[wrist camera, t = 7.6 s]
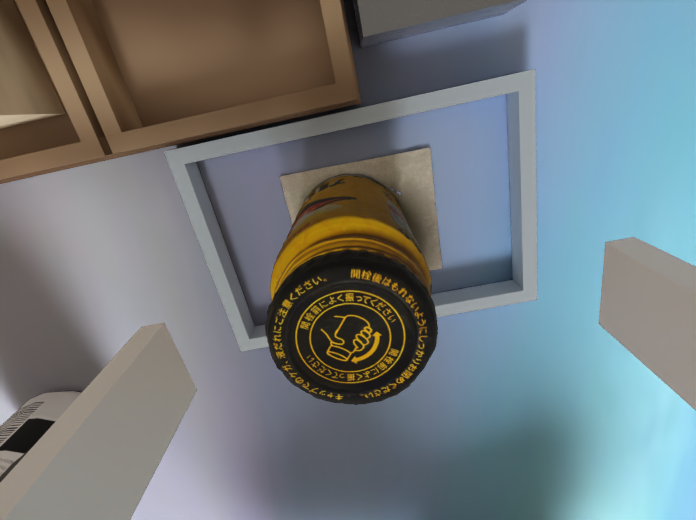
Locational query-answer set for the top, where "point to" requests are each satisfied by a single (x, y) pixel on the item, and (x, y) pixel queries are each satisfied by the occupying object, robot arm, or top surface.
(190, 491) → the top surface
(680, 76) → the top surface
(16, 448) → the supplement can
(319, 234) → the condiment
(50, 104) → the block
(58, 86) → the brown divided tray
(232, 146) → the frame
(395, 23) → the button housing
